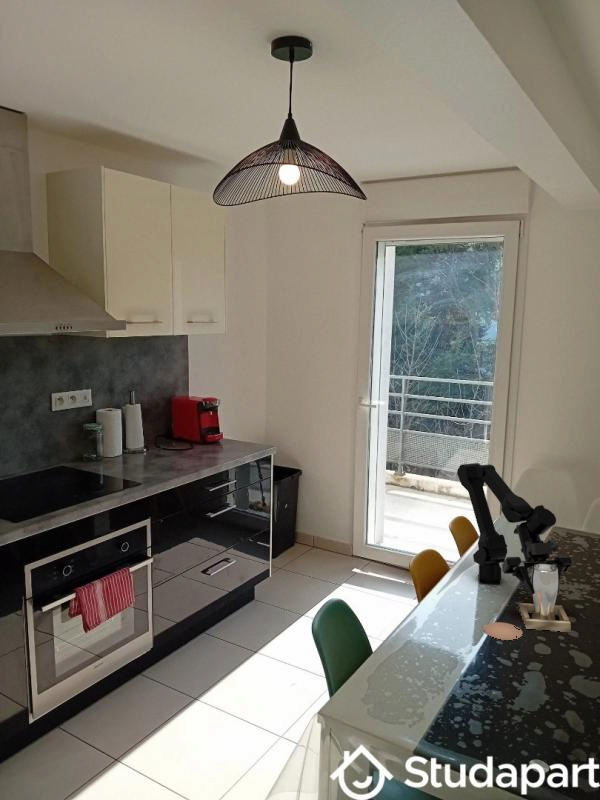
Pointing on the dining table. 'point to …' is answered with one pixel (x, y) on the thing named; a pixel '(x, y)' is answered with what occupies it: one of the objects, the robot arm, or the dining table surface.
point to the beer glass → (544, 590)
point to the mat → (502, 631)
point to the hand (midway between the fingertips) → (545, 593)
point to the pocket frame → (550, 625)
